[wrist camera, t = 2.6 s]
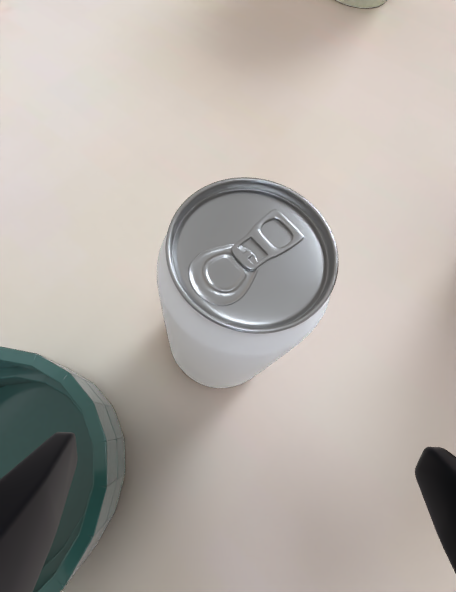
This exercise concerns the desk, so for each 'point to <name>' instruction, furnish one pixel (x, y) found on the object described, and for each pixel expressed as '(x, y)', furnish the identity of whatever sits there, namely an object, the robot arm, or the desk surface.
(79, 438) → the bowl
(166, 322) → the can
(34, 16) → the desk surface
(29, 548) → the robot arm
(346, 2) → the reusable coffee cup
